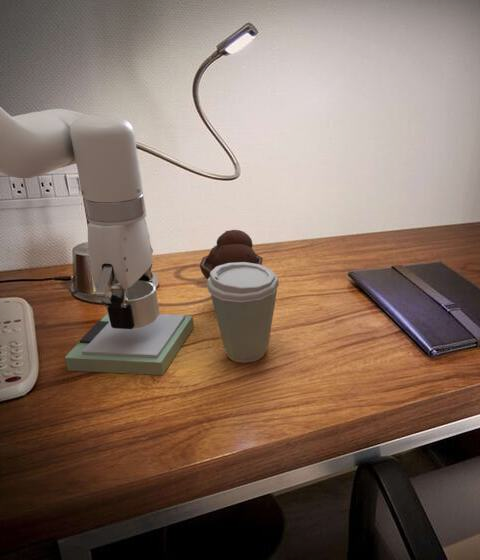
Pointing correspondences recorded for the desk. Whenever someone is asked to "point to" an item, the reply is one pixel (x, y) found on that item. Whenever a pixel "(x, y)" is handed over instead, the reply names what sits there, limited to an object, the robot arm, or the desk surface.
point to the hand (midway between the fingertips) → (134, 314)
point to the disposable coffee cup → (243, 307)
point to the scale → (131, 346)
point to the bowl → (141, 302)
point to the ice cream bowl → (230, 251)
